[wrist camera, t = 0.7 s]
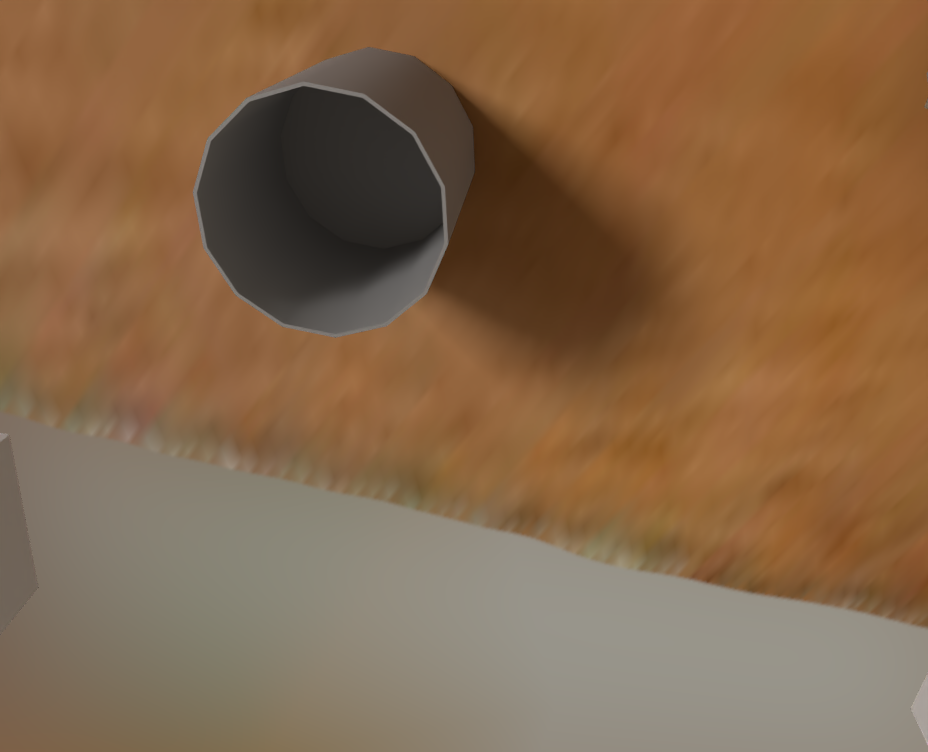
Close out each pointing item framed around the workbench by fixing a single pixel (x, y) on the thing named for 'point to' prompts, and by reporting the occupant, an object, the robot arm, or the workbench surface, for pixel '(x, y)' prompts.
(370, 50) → the cup
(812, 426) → the workbench surface
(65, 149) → the workbench surface
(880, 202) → the workbench surface
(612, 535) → the workbench surface
